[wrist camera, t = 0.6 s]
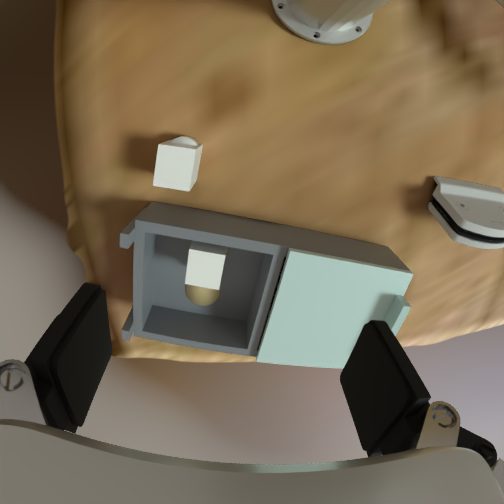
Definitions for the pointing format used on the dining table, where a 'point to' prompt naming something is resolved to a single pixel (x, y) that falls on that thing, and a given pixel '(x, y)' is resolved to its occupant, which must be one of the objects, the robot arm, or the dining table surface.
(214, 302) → the housing
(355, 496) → the robot arm
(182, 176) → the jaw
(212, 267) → the block
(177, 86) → the dining table surface
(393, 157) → the dining table surface
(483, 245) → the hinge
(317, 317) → the lid
